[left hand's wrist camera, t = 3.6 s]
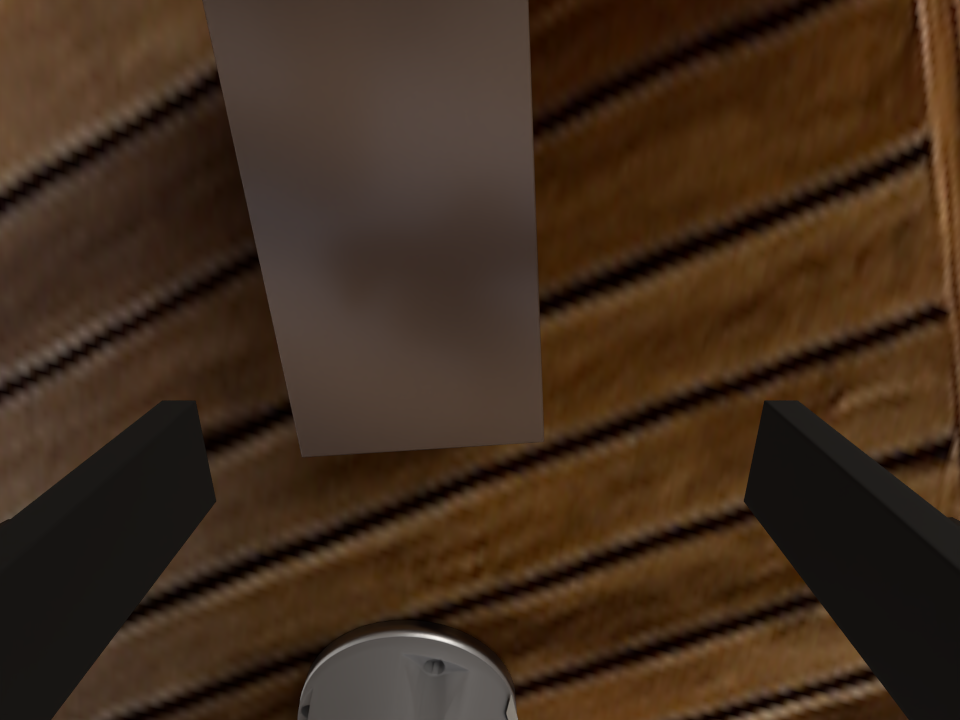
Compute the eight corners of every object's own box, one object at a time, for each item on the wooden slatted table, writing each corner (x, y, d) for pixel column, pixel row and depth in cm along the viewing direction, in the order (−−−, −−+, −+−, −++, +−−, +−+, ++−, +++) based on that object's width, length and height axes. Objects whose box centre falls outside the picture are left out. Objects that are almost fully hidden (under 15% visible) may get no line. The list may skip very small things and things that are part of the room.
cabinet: (286, 6, 24) (186, -68, 16) (509, -13, 24) (524, -99, 16) (349, 375, 31) (301, 457, 22) (527, 363, 30) (544, 442, 22)
